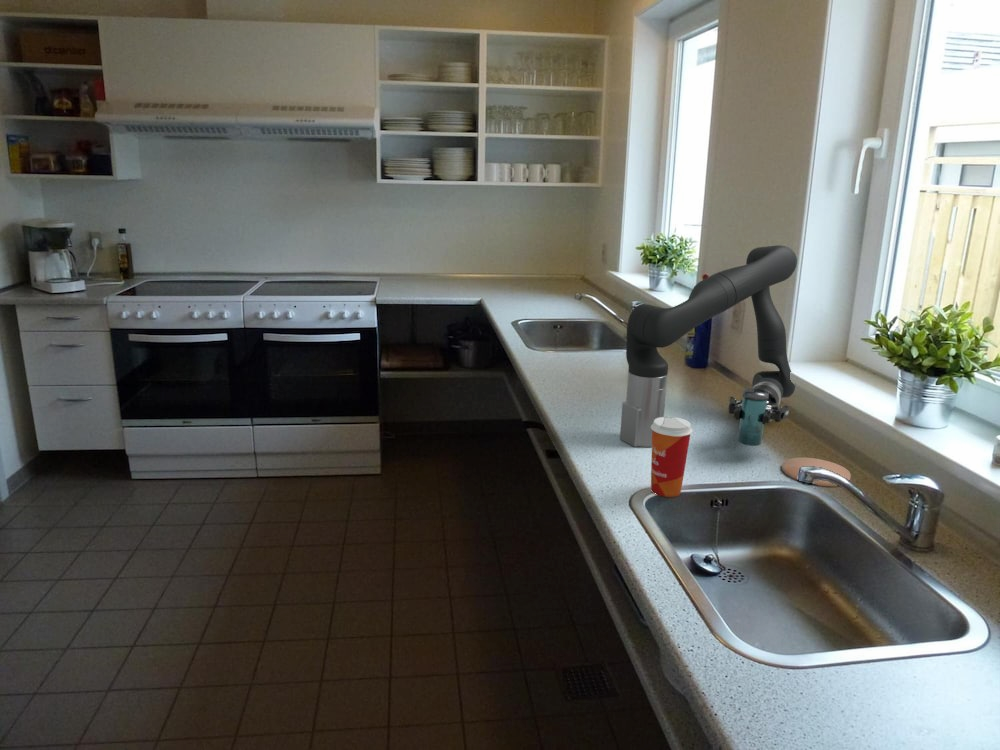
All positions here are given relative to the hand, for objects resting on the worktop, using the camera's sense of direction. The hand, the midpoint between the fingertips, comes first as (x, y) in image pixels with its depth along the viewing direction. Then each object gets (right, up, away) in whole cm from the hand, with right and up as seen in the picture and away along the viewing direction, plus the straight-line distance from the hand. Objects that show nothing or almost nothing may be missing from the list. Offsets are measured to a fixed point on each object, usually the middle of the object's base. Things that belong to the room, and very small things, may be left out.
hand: (750, 417), depth 166 cm
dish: (+13, -12, -3) cm, 18 cm away
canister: (+1, -6, +4) cm, 7 cm away
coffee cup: (-22, -15, -14) cm, 30 cm away
